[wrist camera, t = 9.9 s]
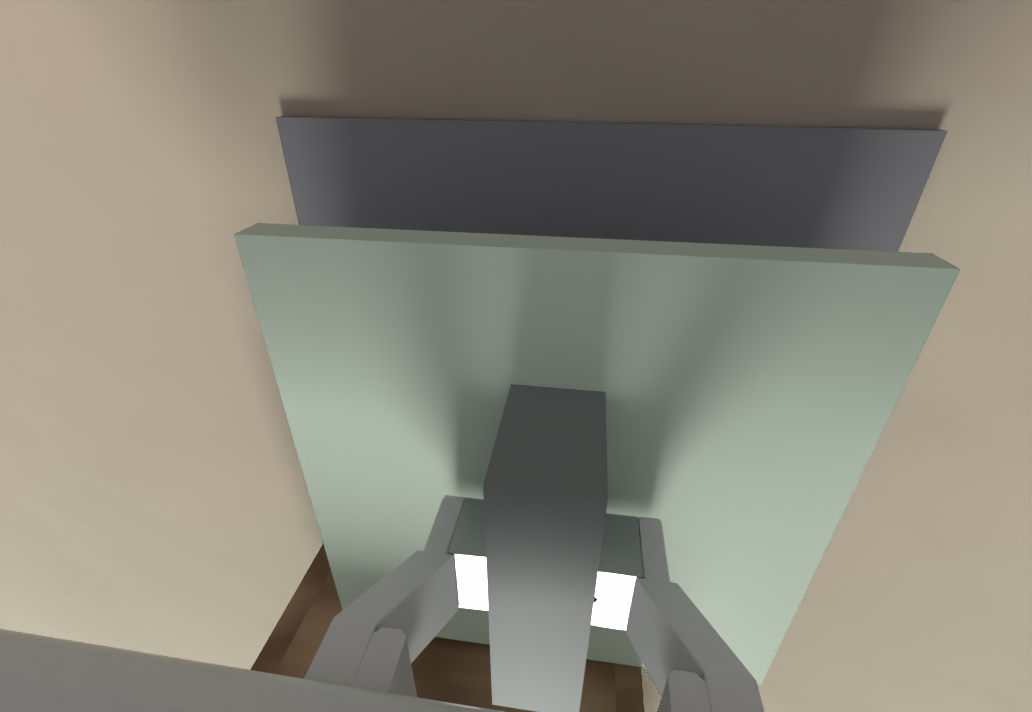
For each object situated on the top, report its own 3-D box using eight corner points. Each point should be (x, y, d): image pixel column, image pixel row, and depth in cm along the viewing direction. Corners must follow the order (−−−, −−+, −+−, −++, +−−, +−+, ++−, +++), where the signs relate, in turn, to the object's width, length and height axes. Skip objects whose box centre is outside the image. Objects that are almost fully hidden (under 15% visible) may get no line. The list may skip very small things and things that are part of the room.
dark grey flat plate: (939, 130, 11) (947, 130, 11) (759, 577, 19) (761, 583, 19) (281, 116, 13) (276, 117, 13) (369, 528, 21) (366, 533, 21)
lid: (892, 231, 10) (1125, 362, 6) (742, 614, 17) (795, 814, 12) (292, 207, 12) (103, 294, 7) (372, 565, 18) (299, 727, 14)
